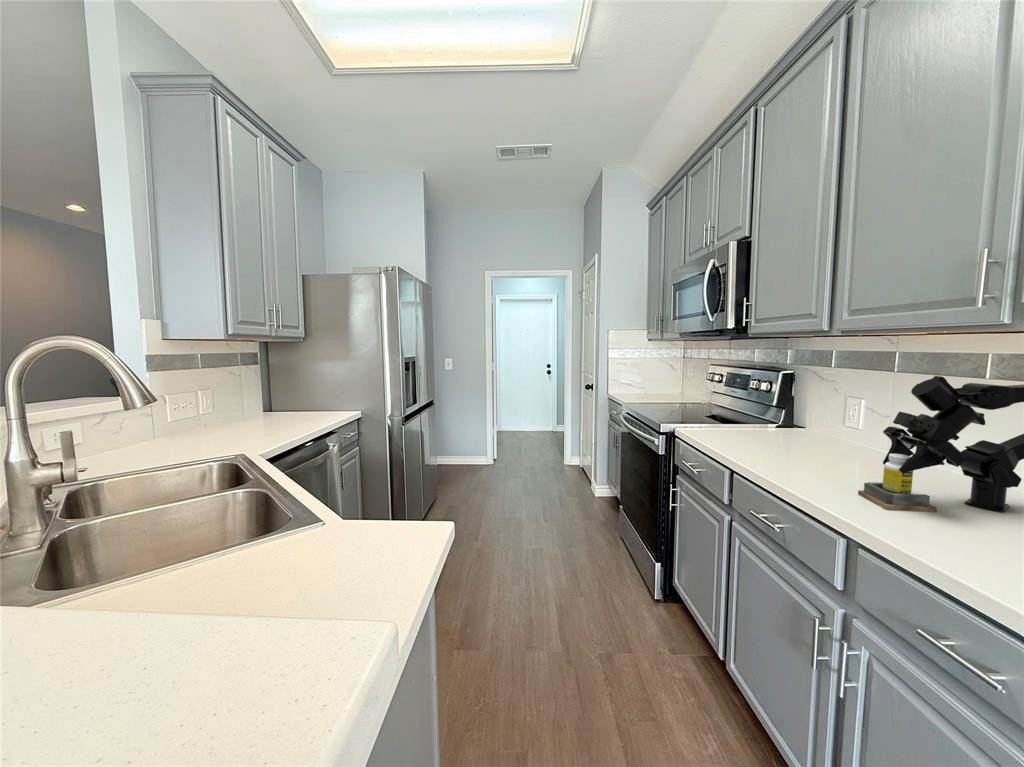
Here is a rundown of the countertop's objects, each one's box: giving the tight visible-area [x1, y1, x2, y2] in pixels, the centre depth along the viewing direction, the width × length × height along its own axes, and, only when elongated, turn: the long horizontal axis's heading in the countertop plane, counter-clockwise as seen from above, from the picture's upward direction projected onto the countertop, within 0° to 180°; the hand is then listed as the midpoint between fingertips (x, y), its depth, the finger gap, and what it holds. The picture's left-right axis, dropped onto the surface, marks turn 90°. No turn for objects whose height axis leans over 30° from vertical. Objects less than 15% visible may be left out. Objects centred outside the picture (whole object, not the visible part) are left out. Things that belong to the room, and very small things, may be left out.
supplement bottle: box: [882, 454, 914, 494], centre depth 108 cm, size 5×5×10 cm
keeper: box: [857, 481, 938, 513], centre depth 108 cm, size 11×11×4 cm
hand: (892, 468), depth 108 cm, fingers closed on supplement bottle, 5 cm apart
